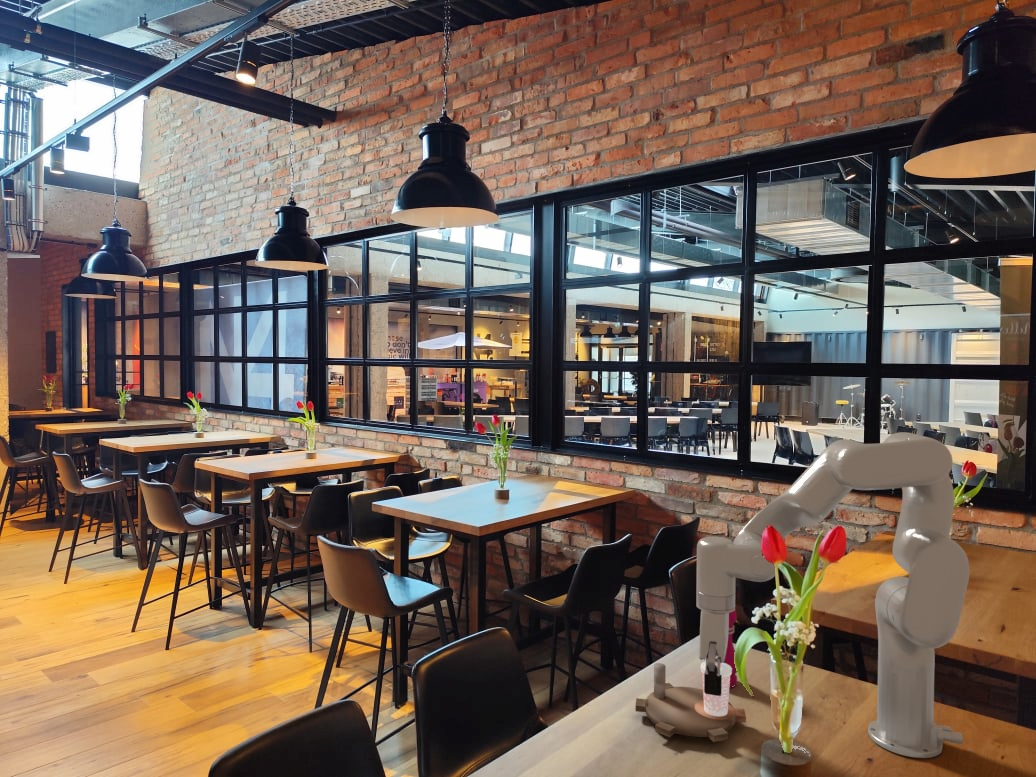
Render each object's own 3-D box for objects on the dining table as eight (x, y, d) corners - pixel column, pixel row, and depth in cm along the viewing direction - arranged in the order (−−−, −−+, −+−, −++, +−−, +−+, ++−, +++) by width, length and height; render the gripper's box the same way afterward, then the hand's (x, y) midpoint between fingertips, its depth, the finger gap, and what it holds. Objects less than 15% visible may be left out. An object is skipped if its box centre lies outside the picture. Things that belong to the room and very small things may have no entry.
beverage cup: (709, 720, 135) (709, 650, 134) (694, 704, 141) (695, 638, 140) (737, 716, 136) (738, 647, 136) (722, 701, 142) (722, 635, 141)
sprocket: (671, 679, 155) (672, 645, 155) (759, 709, 141) (760, 672, 141) (617, 716, 139) (618, 678, 139) (711, 754, 125) (711, 712, 125)
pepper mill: (732, 692, 152) (733, 604, 152) (701, 683, 157) (702, 597, 156) (743, 681, 158) (744, 595, 158) (713, 672, 163) (713, 589, 162)
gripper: (701, 584, 147) (700, 663, 147) (691, 612, 131) (690, 699, 131) (737, 589, 144) (736, 668, 145) (732, 617, 128) (731, 706, 129)
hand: (715, 683), depth 138 cm, fingers open, 9 cm apart
